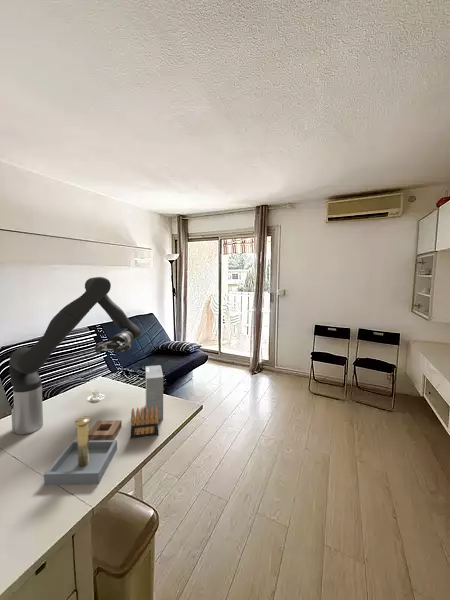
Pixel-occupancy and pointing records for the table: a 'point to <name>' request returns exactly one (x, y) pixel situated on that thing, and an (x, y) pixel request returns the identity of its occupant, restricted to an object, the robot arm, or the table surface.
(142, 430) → the ammunition clip
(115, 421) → the socket block
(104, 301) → the robot arm
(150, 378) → the hard drive box
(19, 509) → the table surface
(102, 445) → the slate tray
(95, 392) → the white rounded piece
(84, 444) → the pin
